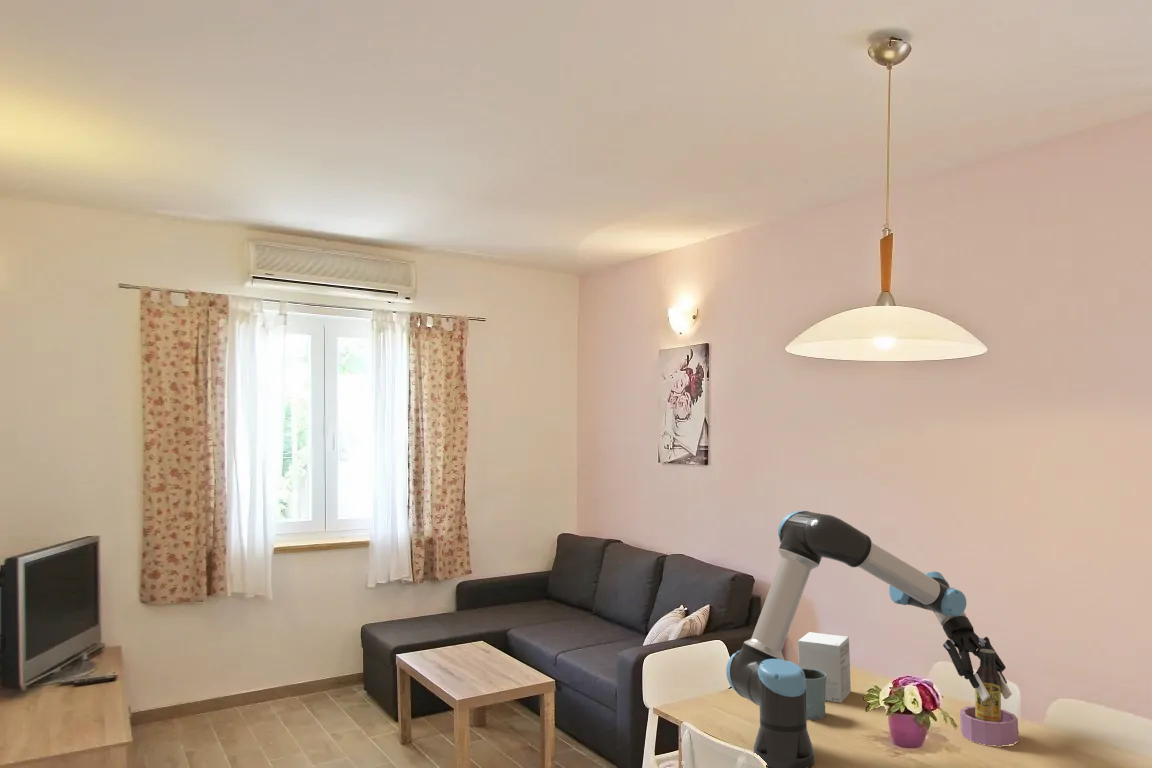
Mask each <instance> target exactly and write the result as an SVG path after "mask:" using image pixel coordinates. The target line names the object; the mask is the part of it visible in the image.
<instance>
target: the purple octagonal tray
mask: <svg viewBox="0 0 1152 768" xmlns="http://www.w3.org/2000/svg"><path fill="white" fill-rule="evenodd" d="M959 712H960V713H959V714H960V717H959V718H960V733H961V732H962V733H961V736H962V735H963V736H964V737H965V738H964V737H963V736H962V737H963V738H964V739H966V738H967V739H966V740H968V739H969V740H968V741H970V740H971V741H970V742H972V741H974V742H973V743H975V742H978V743H981V744H980V745H982V744H985V745H984V746H986V745H996V746H1002V745H1009V744H1014V743H1015V742H1017V741H1020V739H1019V737H1020V736H1019V721H1018V717H1017V716H1016V715H1015V714H1014V713H1012V712H1009V711H1007V710H1005V709H1002V708H1001V722H989V721H983V720H979V719H976V716H975V705H973V706H964V707H963V708H961V709H959ZM978 743H977V744H978Z"/></svg>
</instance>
